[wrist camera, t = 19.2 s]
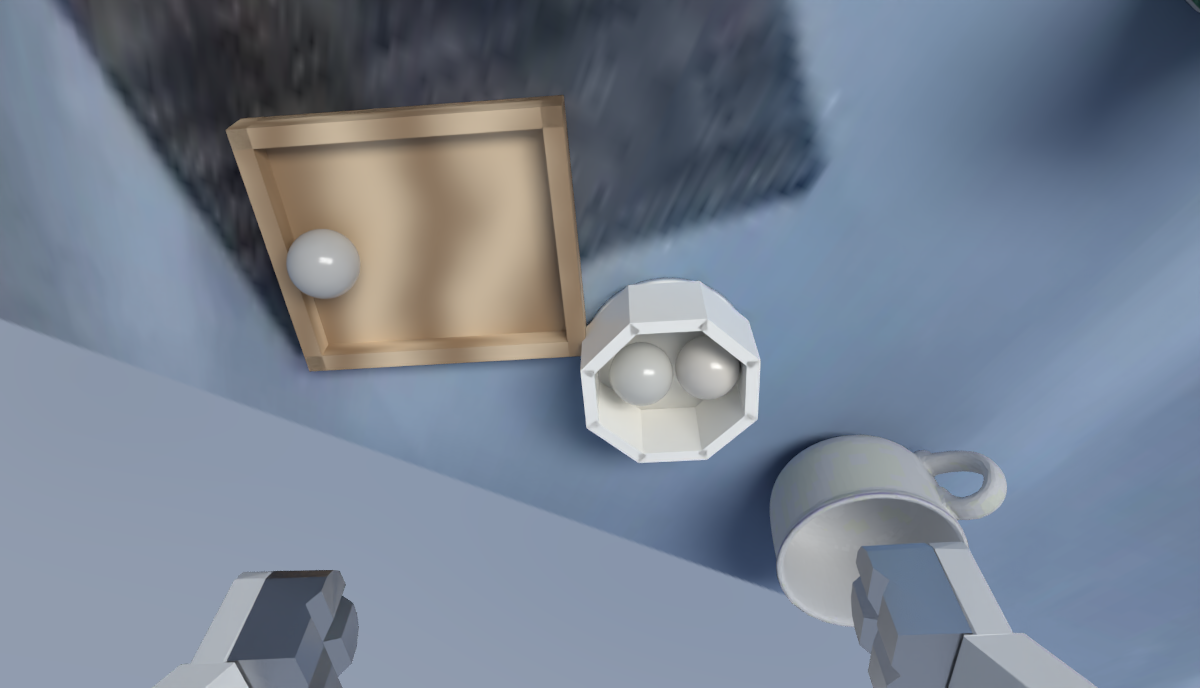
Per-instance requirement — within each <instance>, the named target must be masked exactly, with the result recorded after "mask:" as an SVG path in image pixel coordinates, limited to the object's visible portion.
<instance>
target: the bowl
mask: <svg viewBox="0 0 1200 688" xmlns="http://www.w3.org/2000/svg"><path fill="white" fill-rule="evenodd" d="M703 335H708V336H709V337H710V338H712V339H713V340H714V341H715V342H717V343H718V344H719V345H720V346H722V347H723V348H724V349H726V350H727V351H728V352H729V353H731V354H732V355H733V356H734V357H736V358H737V359H738V360H739V361H740V374H739V378H738V380H737V382H736V384H735V386H734V387H733V388H732V389H731V390H730V391H729V392H728V393H727V394H725V395H724V396H722V397H719V398H716V399H711V400H704V399H699V398H696V397H694V396H692V395H690V394H689V393H687V392H686V391H685V390H684V389H683V388H682V386H681V385H680V383H679V382H678V379H677V376H676V372H675V363H676V358H677V355H678V353H679V351H680V350H681V348H682V347H683V346H684V345H685V344H686V343H687V342H688V341H690V340H691V339H693V338H696V337H699V336H703ZM635 342H647V343H651V344H654V345H656V346H658V347H659V348H661V349H662V350H663V351H664V352H665V353H666V354H667V355H668V357H669V359H670V361H671V363H672V366H673V382H672V385H671V387H670V389H669V391H668V392H667V394H666V395H665V396H664V397H663V398H662V399H661V400H659V401H658V402H656V403H654V404H651V405H646V406H637V405H632V404H629V403H627V402H625V401H624V400H622V399H621V398H620V397H619V396H618V395H617V394H616V393H615V391H614V390H613V388H612V385H611V382H610V377H609V371H610V365H611V363H612V360H613V358H614V357H615V355H616V354H617V353H618V352H619V351H620V350H621V349H622V348H623V347H625V346H627V345H629V344H632V343H635ZM580 371H581V381H582V390H583V399H584V408H585V417H586V427H587V429H589V430H590V431H592V432H593V433H595V434H596V435H598V436H599V437H601V438H602V439H604V440H605V441H607V442H608V443H610V444H611V445H613V446H614V447H616V448H617V449H619V450H620V451H622V452H623V453H625V454H626V455H628V456H629V457H630V458H632V459H633V460H635V461H636V462H638V463H648V462H669V461H689V460H707V459H708V458H710V457H711V456H712V455H713V454H715V453H716V452H717V451H718V450H720V449H721V448H722V447H723V446H725V445H726V444H727V443H728V442H730V441H731V440H732V439H734V438H735V437H736V436H737V435H739V434H740V433H741V432H742V431H744V430H745V429H746V428H747V427H749V426H750V425H751V424H752V423H754V422H755V421H756V420H757V419H758V401H759V380H760V357H759V354H758V351H757V347H756V344H755V341H754V337H753V334H752V331H751V327H750V324H749V321H748V320H747V319H746V318H745V317H743V316H742V315H741V314H740V313H738V312H737V311H736V309H735V308H734V307H733V305H732V304H731V303H730V302H729V301H728V300H727V299H726V298H725V297H724V296H723V295H721V294H720V293H718V292H717V291H716V290H714V289H712V288H710V287H708V286H706V285H704V284H703V283H702V282H700V281H692V280H687V279H681V278H657V279H650V280H646V281H642V282H639V283H636V284H634V285H628V286H627V287H626V288H625V289H623V290H621V291H620V292H618V293H617V294H615V295H614V296H612V297H611V298H610V299H609V300H608V301H607V302H605V304H604V305H603V306H602V307H601V308H600V309H599V310H598V312H597V313H596V315H595V316H594V318H593V320H592V322H591V323H590V324H589V325H588V326H587V327H586V335H585V339H584V340H583V341H582V351H581V369H580Z"/></svg>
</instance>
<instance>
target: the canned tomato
mask: <svg viewBox="0 0 1200 688" xmlns="http://www.w3.org/2000/svg"><path fill="white" fill-rule="evenodd" d="M1186 1H1187V2H1188V3H1189V4H1190V5H1191V6H1192V7H1193V8H1194V9H1195V10H1196V11H1198V12H1199V13H1200V0H1186Z"/></svg>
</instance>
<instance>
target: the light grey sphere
mask: <svg viewBox="0 0 1200 688" xmlns="http://www.w3.org/2000/svg"><path fill="white" fill-rule="evenodd" d="M609 377H610V382H611V385H612V388H613V390H614V391H615V393H616V394H617V395H618V396H619V397H620V398H621V399H622V400H624V401H625V402H627V403H629V404H632V405H637V406H646V405H651V404H654V403H656V402H658V401H659V400H661V399H662V398H663V397H664V396H665V395H666V394H667V392H668V391H669V389H670V387H671V385H672V382H673V366H672V363H671V361H670V359H669V357H668V355H667V354H666V353H665V352H664V351H663V350H662V349H661V348H659V347H658V346H656V345H654V344H651V343H647V342H635V343H632V344H629V345H627V346H625V347H623V348H622V349H621V350H620V351H619V352H618V353H617V354H616V355H615V357H614V358H613V360H612V363H611V365H610V371H609Z"/></svg>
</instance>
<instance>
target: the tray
mask: <svg viewBox="0 0 1200 688" xmlns="http://www.w3.org/2000/svg"><path fill="white" fill-rule="evenodd" d="M226 133H227V136H228V139H229V141H230V144H231V147H232V150H233V153H234V156H235V159H236V162H237V164H238V167H239V170H240V173H241V176H242V179H243V182H244V185H245V187H246V190H247V193H248V196H249V199H250V202H251V205H252V207H253V210H254V213H255V216H256V219H257V222H258V225H259V228H260V230H261V233H262V236H263V239H264V242H265V245H266V248H267V251H268V253H269V256H270V259H271V262H272V265H273V268H274V271H275V274H276V276H277V279H278V282H279V285H280V288H281V291H282V294H283V296H284V299H285V302H286V305H287V308H288V311H289V314H290V317H291V319H292V322H293V325H294V328H295V331H296V334H297V337H298V340H299V342H300V345H301V348H302V351H303V354H304V357H305V360H306V363H307V365H308V368H309V371H325V370H342V369H360V368H378V367H396V366H413V365H431V364H449V363H467V362H484V361H502V360H520V359H538V358H555V357H573V356H581V351H582V341H583V340H584V339H585V335H586V327H587V325H586V315H585V305H584V295H583V285H582V275H581V265H580V255H579V245H578V235H577V225H576V215H575V204H574V194H573V184H572V174H571V164H570V154H569V144H568V134H567V124H566V114H565V104H564V95H557V96H543V97H530V98H516V99H503V100H489V101H475V102H462V103H448V104H435V105H421V106H408V107H394V108H380V109H367V110H353V111H340V112H326V113H313V114H299V115H285V116H272V117H258V118H245V119H240V120H239V121H237V122H236V123H235V124H233V125H232V126H230V127H229V128H228V129H226ZM314 229H330V230H334V231H337V232H339V233H341V234H343V235H344V236H346V237H347V238H348V239H349V240H350V241H351V242H352V243H353V244H354V246H355V247H356V249H357V251H358V253H359V256H360V263H361V267H360V273H359V277H358V279H357V281H356V283H355V284H354V285H353V287H352V288H351V289H350V290H348V291H347V292H346V293H344V294H343V295H341V296H338V297H335V298H330V299H319V298H314V297H311V296H309V295H307V294H305V293H303V292H302V291H300V290H299V289H298V288H297V287H296V286H295V285H294V284H293V282H292V281H291V279H290V277H289V275H288V271H287V267H286V258H287V254H288V251H289V248H290V246H291V245H292V243H293V242H294V241H295V240H296V239H297V238H298V237H299V236H300V235H302V234H304V233H305V232H308V231H310V230H314Z"/></svg>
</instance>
